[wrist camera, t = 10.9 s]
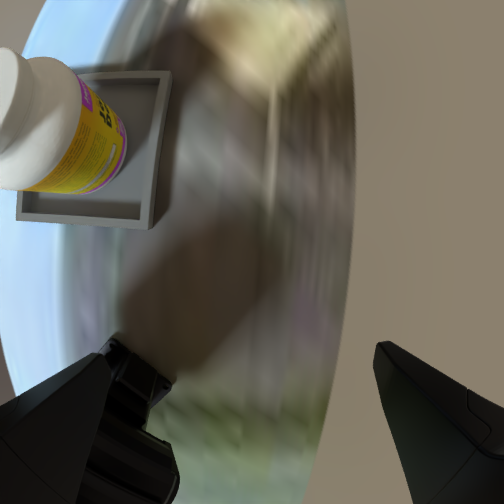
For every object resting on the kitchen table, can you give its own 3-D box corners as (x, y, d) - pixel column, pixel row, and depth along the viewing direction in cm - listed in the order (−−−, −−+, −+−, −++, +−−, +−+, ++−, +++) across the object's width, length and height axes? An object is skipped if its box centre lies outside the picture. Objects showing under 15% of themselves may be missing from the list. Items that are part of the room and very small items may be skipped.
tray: (152, 227, 20) (147, 230, 19) (27, 218, 19) (15, 220, 17) (172, 80, 19) (170, 70, 17) (48, 86, 17) (38, 80, 15)
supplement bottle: (148, 141, 19) (74, 64, 6) (90, 213, 19) (-31, 227, 7) (91, 92, 18) (3, 8, 5) (38, 160, 18) (-80, 135, 5)
